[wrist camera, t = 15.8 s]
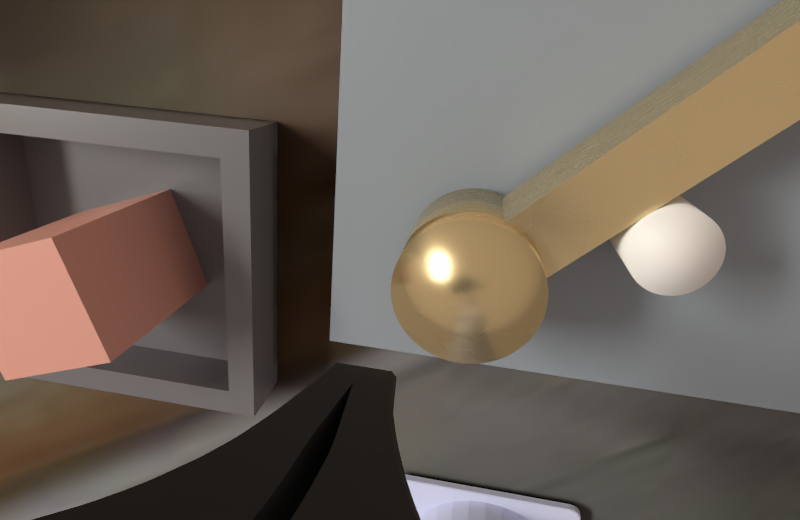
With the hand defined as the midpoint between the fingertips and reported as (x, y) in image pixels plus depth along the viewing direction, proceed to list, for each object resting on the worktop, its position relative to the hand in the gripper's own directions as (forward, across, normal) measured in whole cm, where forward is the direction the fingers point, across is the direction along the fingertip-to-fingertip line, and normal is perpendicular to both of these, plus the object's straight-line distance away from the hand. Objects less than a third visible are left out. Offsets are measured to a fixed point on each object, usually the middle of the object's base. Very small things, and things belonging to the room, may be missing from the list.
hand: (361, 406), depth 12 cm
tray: (+9, +11, +1) cm, 15 cm away
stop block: (+9, +11, +1) cm, 14 cm away
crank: (+8, -6, -5) cm, 11 cm away
